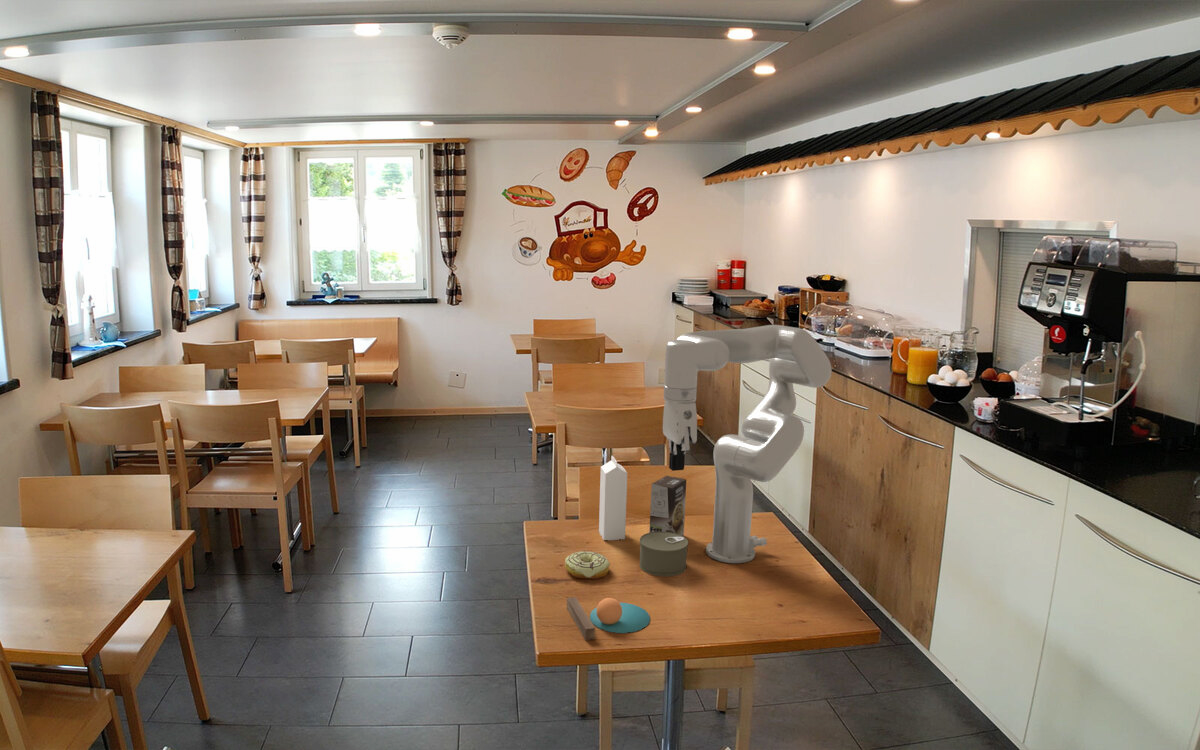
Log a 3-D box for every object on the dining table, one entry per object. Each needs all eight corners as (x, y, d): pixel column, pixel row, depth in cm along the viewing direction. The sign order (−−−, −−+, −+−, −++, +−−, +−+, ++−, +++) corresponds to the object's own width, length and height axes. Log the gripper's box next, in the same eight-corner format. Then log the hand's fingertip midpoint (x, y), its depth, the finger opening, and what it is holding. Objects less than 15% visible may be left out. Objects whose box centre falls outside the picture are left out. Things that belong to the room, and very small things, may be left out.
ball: (587, 605, 173) (600, 622, 175) (598, 616, 168) (610, 634, 170) (607, 588, 174) (619, 606, 176) (618, 599, 169) (630, 617, 171)
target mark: (637, 600, 183) (637, 599, 183) (659, 628, 171) (659, 627, 171) (582, 607, 179) (582, 606, 179) (600, 636, 167) (600, 635, 167)
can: (630, 560, 204) (631, 535, 203) (672, 553, 209) (673, 528, 208) (652, 580, 193) (653, 553, 192) (695, 572, 198) (697, 546, 197)
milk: (619, 531, 223) (622, 454, 218) (625, 539, 217) (628, 461, 213) (598, 532, 221) (600, 455, 217) (603, 541, 215) (605, 461, 211)
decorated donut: (592, 586, 190) (592, 571, 189) (556, 573, 196) (556, 559, 195) (616, 570, 199) (617, 556, 198) (581, 559, 205) (582, 545, 204)
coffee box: (669, 546, 213) (672, 488, 210) (648, 540, 217) (650, 483, 213) (684, 535, 221) (687, 478, 218) (663, 529, 224) (666, 474, 221)
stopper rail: (575, 607, 179) (575, 597, 179) (594, 639, 166) (595, 627, 166) (566, 608, 178) (566, 598, 178) (585, 640, 165) (585, 629, 165)
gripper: (708, 400, 181) (704, 478, 185) (681, 386, 195) (678, 458, 199) (678, 401, 179) (674, 480, 182) (652, 387, 193) (650, 461, 196)
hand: (676, 469), depth 190 cm, fingers closed
